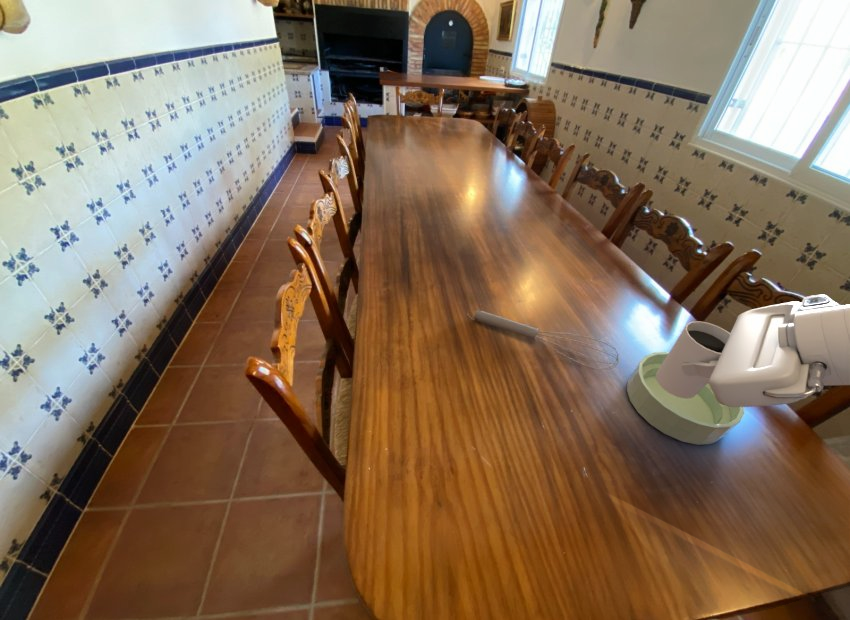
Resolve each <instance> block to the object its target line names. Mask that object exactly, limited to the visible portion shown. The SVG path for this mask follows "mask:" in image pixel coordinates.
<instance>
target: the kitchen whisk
mask: <svg viewBox="0 0 850 620" xmlns="http://www.w3.org/2000/svg"><path fill="white" fill-rule="evenodd" d="M471 310H473V311H475V310H476V311H475V313H474V317H471V316H470V315H469V311H471ZM466 314H467V316H468V318H470V319H471V320H472V321H477V322H479V323H481V324H484V325H488V326H491V327H493V328H496V329H499V330H502V331H505V332H508V333H512V334H515V335H518V336H521V337H524V338H527V339H529V340H533V341H536V339H537V340H538V341H540V342H541V343H542V344H544V345H545V346H547V347H549V348H550V349H551V350H553V351H554V352H557V353H558V354H560V355H562V356H564V357H566V358H568V359H570V360H571V361H573V362H576V363H578V364H579V365H582V366H585V367H587V368H591V369H594V370H595V369H597V370H601V371H606V370H612V369H614V368H616V367H617V365H618V364H619V362H620V359H619V358H620V357H619V355H620V354H619V353H618V351H617V348H615V347H614V345H612V344H610V343H609V342H607V341H604V340H602V339H599V338H596V337H593V336H588V335H584V334H580V335H579V334H577V333H573V336H574V337H578V336H579V337H580V338H585V339H590V340H593V341H596V342H600V343H603V344H604V345H607V346H609V347H610V348H611V349H613V350H614V351H615V353H616V354H615V353H614V352H612V351H610V350H608V349H606V348H604V347H601V346H598V345H595V344H591V343H588V342H584V341H579V340H576V339H570V338H567V337H563V336H561V337H560V336H557V334H558V335H567V336H572V333H571V332H570V333H569V332H557V331H539V329H540V328H537V327H534V326H531V325H528V324H524V323H522V322H521V323H520V322H518V321H514V320H511V319H508V318H505V317H502V316H499V315H496V314H492V313H489V312H486V311H483V310H479V309H478V308H470V309H468V311H467V312H466ZM547 334H548V335H547ZM552 334H555V335H552ZM542 336H543V337H548V338H552V339H556V340H561V341H564V342H568V343H571V344H572V343H573V344H574V345H575V344H576V345H579V346H584V347H587V348H590V349H592V350H596V351H599V352H601V353H604V354H606V355H609V356H611V357H613V358H614V359H615V360H616V361H614V362H611V361H606V360H602V359H599V358H596V357H592V356H589V355H587V354H584V353H581V352H580V351H579V352H578V351H575V350H574V349H571V348H568V347H566V346H563V345H560V344H558V343H555V342H553V341H551V340H548V339H546V338H543V337H542ZM573 341H574V342H573ZM546 342H547V343H546ZM548 343H549V344H551V345H553V346H555V347H558V348H560V349H562V350H565V351H567V352H569V353H572V354H574V355H577V356H579V357H582V358H584V359H588V360H590V361H593V362H597V363H601V364H605V363H606V364H607V365H609V364H610V365H611V364H612V366H609V367H607V368H599V367H594V366H591V365H588V364H585V363H583V362H581V361H578V360H575V359H574V358H572V357H570V356H567V355H566V354H564V353H563V352H560V351H559V350H557V349H555V348H553V347H552V346H550V345H549V344H548ZM581 343H582V344H581ZM584 344H586V345H584ZM588 345H589V346H588ZM591 346H593V347H591ZM594 347H596V348H594ZM598 348H599V349H598ZM600 349H602V350H600ZM603 350H604V351H603ZM608 352H609V353H608ZM610 353H611V354H610Z"/></svg>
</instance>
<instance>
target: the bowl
mask: <svg viewBox="0 0 850 620" xmlns="http://www.w3.org/2000/svg"><path fill="white" fill-rule="evenodd" d="M668 354H669V352H668V351H667V352H666V351H663V352H660V351H659V352H653V353H650V354H647V355H645V356H644V357H642V359H641V360H640V361H639V363H638V364H637V366H636V367H635V369H634V370H633V372H632V373H631V375H630V376H629V377H628V380H627V383H626V384H627V385H626V392H627V395H628V399H629V401H630V403H631V404H632V405H633V408H634V409H635V410H636V412H637V413H638V415H640V416H641V417H642V418H643V419H644V420H645V421H646V422H647V423H648V424H649V425H651V426H652V427H654V428H655V429H656V430H658V431H660V432H661V433H662V434H664V435H667V436H668V437H671V438H673V439H675V440H678V441H680V442H683V443H688V444H692V445H697V446H700V445H711V444H715V443H716V442H718V441H720V440H722V439H723V438H724V437H725V436H726V435H727V434H729V432H730V431H731V430H733V429H734V428H735V427H736V426H737V425H738V424H739V423H741V421H742V419H743V417H744V414H745V410H744V407H728V406H725V405H723V404H720V403H719V402H718V401H717V399H716V397H715V395H714V393H713V391H712V389H711V386H710V383H709V382H708V383H707V384H706V385H705V386H704V387H703V388H702V389H701V390H700V391H699V392H698V393H697V394H696V395H695V396H694V397H693V398H687V399H685V398H680V397H677V396H674V395H672V394H670V393H668V392H667V391H666V390H664V389H663V388H662V387H661V386H660V385H659V383H658V382H657V379H656V373H657V371H658V370H659V368H660V366H661V365H662V363H663V362H664V360H665V358H666V357H667V355H668Z"/></svg>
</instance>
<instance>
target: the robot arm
mask: <svg viewBox="0 0 850 620" xmlns="http://www.w3.org/2000/svg"><path fill="white" fill-rule="evenodd" d="M729 333H730V335H729V337H728V340H727V342H726V344H725V346H724V348H723V351H722V354H721V355H720V357H719V359H718V360H716V361H710V363H703V362H694V363H689V362H685V363H683V365H682V369H683V372H684V374H685V375H688V376H695V375H700V376H703V377H706V378H709V383H710V386H711V389H712V391H713V393H714V395H715V397H716V399H717V401H718V402H719V403H720V404H723V405H725V406H728V407H743V408H749V407H751V408H752V407H753V408H754V407H771V406H782V405H789V404H793V403H796V402H799V401H800V400H805V399H807V398H808V397H809V396H812V395H814V394H815V393H820V392H821V391H822V390H823V389H824V386H826V387H827V386H850V304H845V305H844V304H840V303H839V302H836V301H835V300H833V299H832V298H831V297H829V295H827V294H815V295H809V296H805V297H804V298H803V299H802V300H801V302H800V301H789V302H783V303H776V304H772V305H767V306H761V307H757V308H753V309H749V310H746V311H744V312H742V313H740V314H738V315H737V317H736V321H735V322H734V325H733V326H732V329H731V331H730V332H729Z"/></svg>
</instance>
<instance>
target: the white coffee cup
mask: <svg viewBox="0 0 850 620" xmlns="http://www.w3.org/2000/svg"><path fill="white" fill-rule="evenodd" d="M729 335H730V332H729V331H727V330H726V329H724V328H722V327H721V326H719V325H716V324H713V323H710V322H705V321H700V320H698V321H690V322H689V323H686V325H685V326H684V327H683V329H682V331H681V333H680V334H679V336H678V338H677V339H676V341H675V343H674V344H673V346H672V347H671V349H670V350H669V352H668V353H669V354H668V355H667V357H666V358H665V360H664V362H663V363H662V365H661V366H660V368H659V370H658V371H657V373H656V379H657V382H658V383H659V385H660V386H661V387H662V388H663V389H664V390H666V391H667V392H668V393H670V394H672V395H674V396H677V397H680V398H685V399H687V398H693V397H694V396H695V395H696V394H697V393H698V392H699V391H700V390H701V389H702V388H703V387H704V386H705V385H706V384H707V383H708V382H709V378H706V377H703V376H700V375H695V376H688V375H685V374H684V372H683V369H682V365H683V363H685V362H689V363H694V362H703V363H710V361H716V360H718V359H719V357H720V355H721V354H722V351H723V348H724V346H725V344H726V342H727V340H728V337H729Z"/></svg>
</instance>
